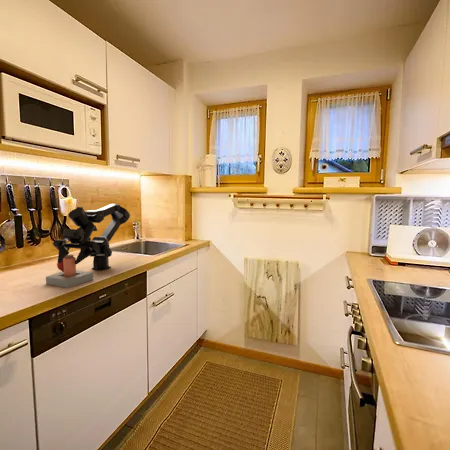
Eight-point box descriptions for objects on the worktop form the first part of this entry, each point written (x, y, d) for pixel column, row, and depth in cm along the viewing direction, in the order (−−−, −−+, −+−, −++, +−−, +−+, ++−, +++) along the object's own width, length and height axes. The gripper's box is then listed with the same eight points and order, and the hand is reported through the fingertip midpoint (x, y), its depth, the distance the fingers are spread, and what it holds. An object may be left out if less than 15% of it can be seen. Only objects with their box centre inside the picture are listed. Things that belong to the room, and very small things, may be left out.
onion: (69, 269, 130) (68, 253, 129) (74, 272, 126) (73, 255, 125) (55, 272, 125) (54, 255, 124) (60, 274, 122) (59, 257, 121)
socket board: (72, 276, 119) (72, 269, 119) (93, 279, 115) (92, 272, 115) (46, 283, 108) (45, 276, 108) (67, 287, 104) (66, 280, 104)
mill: (67, 280, 114) (65, 254, 113) (78, 279, 114) (77, 254, 113) (62, 283, 109) (61, 256, 108) (73, 283, 110) (72, 256, 109)
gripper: (54, 220, 115) (34, 251, 105) (94, 221, 112) (77, 253, 102) (68, 236, 123) (51, 266, 113) (106, 238, 120) (91, 268, 110)
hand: (67, 263), depth 110 cm, fingers open, 7 cm apart
